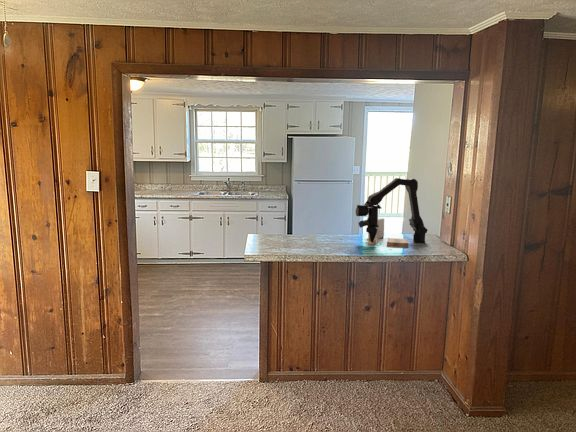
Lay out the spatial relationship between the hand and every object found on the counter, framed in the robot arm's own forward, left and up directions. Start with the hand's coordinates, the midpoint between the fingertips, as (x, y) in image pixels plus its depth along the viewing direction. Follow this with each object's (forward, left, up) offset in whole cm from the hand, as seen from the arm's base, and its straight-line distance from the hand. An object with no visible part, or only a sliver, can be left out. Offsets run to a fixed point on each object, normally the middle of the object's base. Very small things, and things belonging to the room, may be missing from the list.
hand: (372, 241), depth 253 cm
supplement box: (-1, -19, -2) cm, 19 cm away
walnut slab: (-15, 0, -2) cm, 15 cm away
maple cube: (0, 0, -1) cm, 1 cm away
